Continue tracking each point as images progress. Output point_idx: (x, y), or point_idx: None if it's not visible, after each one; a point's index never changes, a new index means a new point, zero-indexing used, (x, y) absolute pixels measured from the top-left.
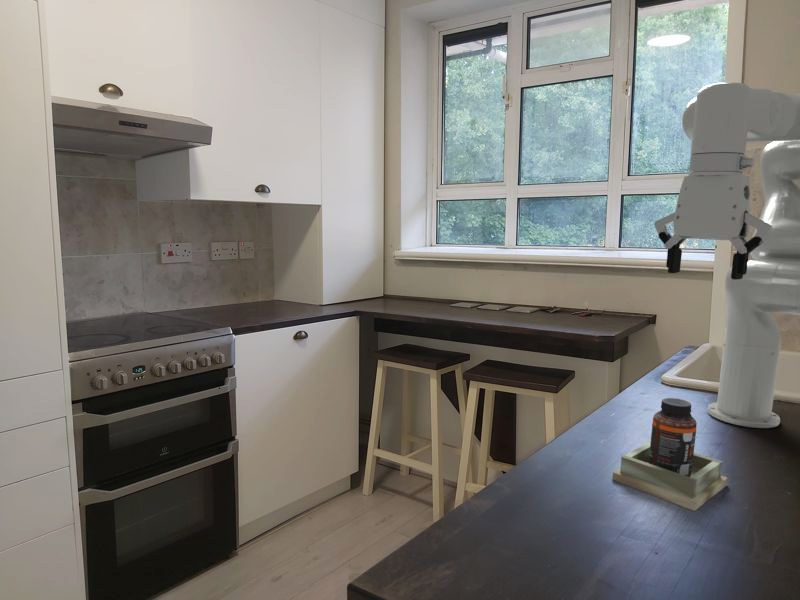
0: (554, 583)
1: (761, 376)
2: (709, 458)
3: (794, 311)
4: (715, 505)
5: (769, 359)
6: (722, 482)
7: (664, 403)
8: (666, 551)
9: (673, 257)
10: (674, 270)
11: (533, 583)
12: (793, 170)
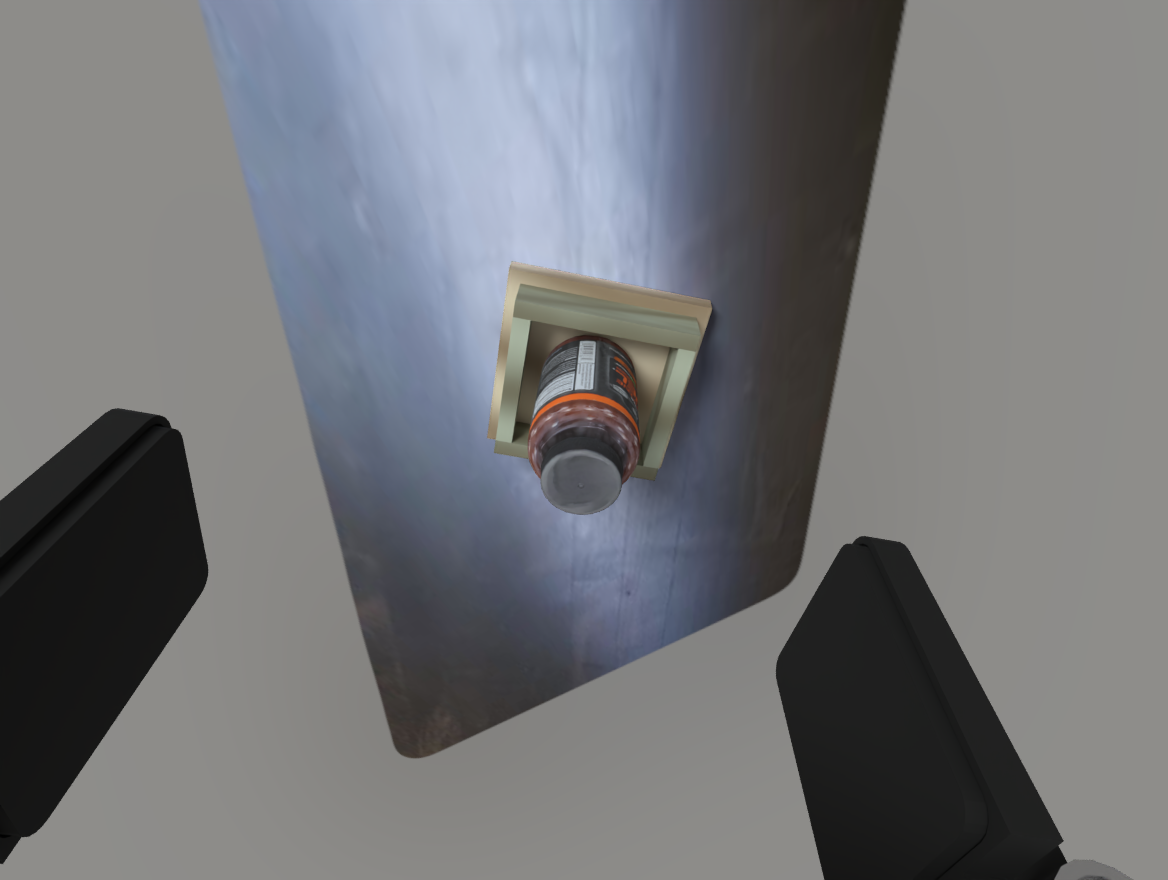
0: (546, 688)
1: None
2: (669, 337)
3: None
4: (692, 413)
5: None
6: (701, 340)
7: (554, 505)
8: (639, 584)
9: (100, 738)
10: (192, 563)
11: (528, 696)
12: None
